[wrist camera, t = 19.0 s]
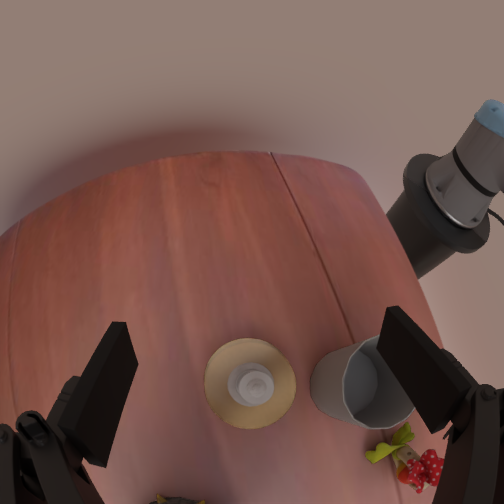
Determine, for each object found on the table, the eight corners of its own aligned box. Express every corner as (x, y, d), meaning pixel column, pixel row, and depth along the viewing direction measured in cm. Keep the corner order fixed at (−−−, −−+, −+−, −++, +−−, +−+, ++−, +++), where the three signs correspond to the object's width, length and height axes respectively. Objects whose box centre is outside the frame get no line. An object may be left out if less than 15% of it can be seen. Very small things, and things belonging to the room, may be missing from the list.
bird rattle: (408, 447, 25) (398, 408, 25) (464, 478, 14) (467, 441, 14) (373, 477, 23) (357, 442, 23) (425, 517, 13) (422, 490, 12)
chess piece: (228, 361, 26) (223, 353, 17) (273, 363, 26) (292, 355, 17) (226, 404, 24) (220, 419, 15) (272, 405, 24) (291, 420, 15)
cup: (325, 338, 30) (361, 319, 21) (384, 359, 29) (434, 347, 20) (298, 406, 26) (326, 417, 17) (361, 424, 25) (407, 436, 16)
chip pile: (308, 372, 28) (315, 371, 25) (258, 438, 25) (260, 445, 22) (239, 324, 30) (239, 318, 28) (187, 388, 27) (182, 389, 24)
